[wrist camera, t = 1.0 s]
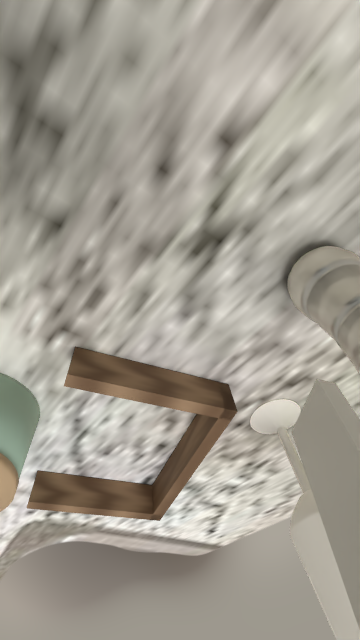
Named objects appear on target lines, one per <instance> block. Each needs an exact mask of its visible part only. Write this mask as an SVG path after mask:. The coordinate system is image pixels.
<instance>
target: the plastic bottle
mask: <svg viewBox="0 0 360 640" xmlns="http://www.w3.org/2000/svg"><path fill="white" fill-rule="evenodd" d="M287 287H288V292H289V295H290V297H291V299H292V301H293V304H294V305H295V307H296V308H297V309H298V310H299V311H300V312H302V313H303V314H304V315H305V316H307V317H308V318H309V319H311V320H312V321H314V322H316V323H317V324H318V325H319V326H320V327H321V328H322V329H323V330H324V331H325V332H327V333H328V334H329V335H330V336H331V337H332V338H333V339H334V340H335V341H336V342H337V344H338V345H339V346H340V348H341V349H342V350H343V351H344V353H345V354H346V355H347V357H348V358H349V359H350V361H351V362H352V363H353V365H354V366H355V368H356V370H357V371H358V373H359V375H360V257H358V256H357V255H356V254H355V253H353V252H351V251H348V250H345V249H342V248H339V247H335V246H323V247H319V248H316V249H313V250H311V251H309V252H307V253H306V254H304V255H303V256H302V257H301V258H300V259H299V260H298V261H297V262H296V263H295V264H294V266H293V267H292V269H291V271H290V273H289V277H288V282H287Z"/></svg>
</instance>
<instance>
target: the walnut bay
mask: <svg viewBox="0 0 360 640" xmlns="http://www.w3.org/2000/svg"><path fill="white" fill-rule="evenodd" d="M64 386H66V387H71V388H76V389H80V390H85V391H90V392H95V393H100V394H104V395H109V396H114V397H119V398H124V399H129V400H133V401H138V402H143V403H148V404H153V405H157V406H162V407H167V408H172V409H177V410H181V411H186V412H191V413H196V414H197V415H196V416H195V418H194V419H193V421H192V423H191V424H190V426H189V427H188V429H187V431H186V432H185V434H184V435H183V437H182V439H181V440H180V442H179V443H178V445H177V447H176V448H175V450H174V451H173V453H172V455H171V456H170V458H169V459H168V461H167V463H166V464H165V466H164V467H163V469H162V471H161V472H160V474H159V475H158V477H157V479H156V480H155V482H154V483H153V485H146V484H138V483H131V482H123V481H115V480H107V479H99V478H92V477H84V476H76V475H68V474H60V473H52V472H45V471H37V475H36V478H35V481H34V485H33V488H32V492H31V495H30V498H29V502H28V505H27V508H29V509H40V510H51V511H62V512H72V513H83V514H94V515H104V516H115V517H126V518H136V519H147V520H158V521H160V519H161V518H162V517H163V515H164V514H165V512H166V511H167V510H168V508H169V507H170V505H171V504H172V503H173V501H174V500H175V498H176V497H177V496H178V494H179V493H180V491H181V490H182V489H183V487H184V486H185V484H186V483H187V482H188V480H189V479H190V477H191V476H192V475H193V473H194V472H195V470H196V469H197V468H198V466H199V465H200V463H201V462H202V461H203V459H204V458H205V456H206V455H207V454H208V452H209V451H210V449H211V448H212V447H213V445H214V444H215V442H216V441H217V440H218V438H219V437H220V435H221V434H222V433H223V431H224V430H225V428H226V427H227V426H228V424H229V423H230V421H231V420H232V419H233V417H234V416H235V414H236V413H237V409H236V406H235V403H234V400H233V397H232V394H231V390H230V387H229V385H228V384H224V383H220V382H216V381H212V380H208V379H204V378H200V377H196V376H192V375H188V374H184V373H180V372H176V371H172V370H168V369H163V368H159V367H155V366H151V365H147V364H143V363H139V362H135V361H131V360H127V359H123V358H119V357H115V356H111V355H107V354H103V353H99V352H94V351H90V350H86V349H82V348H78V347H75V350H74V353H73V356H72V360H71V363H70V367H69V370H68V374H67V377H66V380H65V384H64Z"/></svg>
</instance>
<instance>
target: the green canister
mask: <svg viewBox="0 0 360 640" xmlns="http://www.w3.org/2000/svg"><path fill="white" fill-rule="evenodd" d="M39 418H40V408H39V405H38V402H37V400H36V398H35V397H34V395H33V394H32V393H31V392H30V391H29V390H28V389H27V388H26V387H25V386H24V385H23V384H21V383H20V382H18V381H17V380H15V379H13V378H11V377H9V376H7V375H4V374H2V373H0V512H1V511H2V510H4V509H5V508H6V507H8V505H9V504H10V503H11V502H12V500H13V498H14V495H15V492H16V489H17V486H18V483H19V477H20V474H21V471H22V468H23V465H24V462H25V459H26V456H27V454H28V451H29V448H30V445H31V442H32V439H33V436H34V433H35V430H36V427H37V424H38V421H39Z"/></svg>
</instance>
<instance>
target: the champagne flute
mask: <svg viewBox="0 0 360 640" xmlns="http://www.w3.org/2000/svg"><path fill="white" fill-rule="evenodd" d="M300 413H301V410H300V407H299V405H298V404H297V403H295V402H294V401H291V400H287V399H278V400H273V401H270V402H267V403H265V404H263V405H262V406H260V407H259V408H258V409H256V410H255V412H254V413H253V414H252V416H251V419H250V424H251V427H252V428H253V429H254V430H255V431H256V432H258V433H262V434H275V433H277V434H278V436H279V438H280V441H281V443H282V445H283V447H284V450H285V452H286V454H287V457H288V459H289V461H290V464H291V466H292V468H293V470H294V473H295V475H296V477H297V480H298V482H299V484H300V487H301V489H302V491H303V493H304V494H303V495H302V496H301V497H300V498H299V500H298V502H297V505H296V507H295V509H294V511H293V513H292V518H291V523H290V536H291V539H292V542H293V544H294V546H295V548H296V550H297V553H298V555H299V557H300V559H301V562H302V564H303V566H304V568H305V570H306V573H307V575H308V577H309V580H310V582H311V584H312V586H313V589H314V591H315V593H316V595H317V598H318V600H319V602H320V604H321V606H322V609H323V611H324V613H325V615H326V618H327V620H328V622H329V624H330V627H331V629H332V631H333V633H334V635H335V638H336V640H360V630H359V627H358V624H357V621H356V618H355V615H354V612H353V609H352V606H351V604H350V601H349V598H348V595H347V592H346V589H345V586H344V583H343V580H342V577H341V574H340V572H339V569H338V566H337V563H336V560H335V557H334V554H333V551H332V548H331V545H330V542H329V540H328V537H327V534H326V531H325V528H324V525H323V522H322V519H321V516H320V513H319V510H318V508H317V505H316V502H315V499H314V496H313V493H312V490H311V487H310V484H309V481H308V479H307V476H306V473H305V470H304V467H303V464H302V462H301V460H300V458H299V456H298V454H297V452H296V450H295V447H294V445H293V443H292V441H291V439H290V437H289V435H288V432H287V429H288V428H290V427H291V426H293V425H294V424H295V423H296V421H297V419H298V417H299V415H300Z"/></svg>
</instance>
